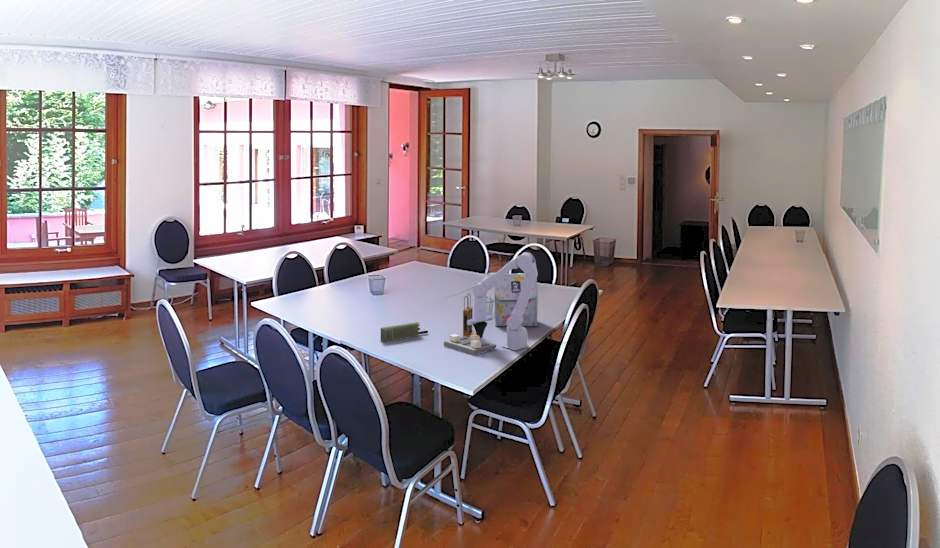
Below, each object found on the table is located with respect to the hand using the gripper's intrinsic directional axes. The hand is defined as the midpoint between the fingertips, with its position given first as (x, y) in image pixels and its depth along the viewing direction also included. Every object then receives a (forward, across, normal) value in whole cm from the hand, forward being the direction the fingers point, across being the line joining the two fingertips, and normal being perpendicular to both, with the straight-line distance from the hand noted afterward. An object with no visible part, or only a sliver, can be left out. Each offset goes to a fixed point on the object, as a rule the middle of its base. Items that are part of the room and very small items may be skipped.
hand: (479, 337), depth 350 cm
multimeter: (+4, -10, -13) cm, 17 cm away
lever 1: (+1, +9, -7) cm, 12 cm away
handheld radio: (+4, +18, -33) cm, 38 cm away
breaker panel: (+3, +6, 0) cm, 7 cm away
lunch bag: (+4, -40, -14) cm, 42 cm away
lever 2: (+1, +9, +7) cm, 12 cm away
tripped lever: (+1, +3, 0) cm, 3 cm away
